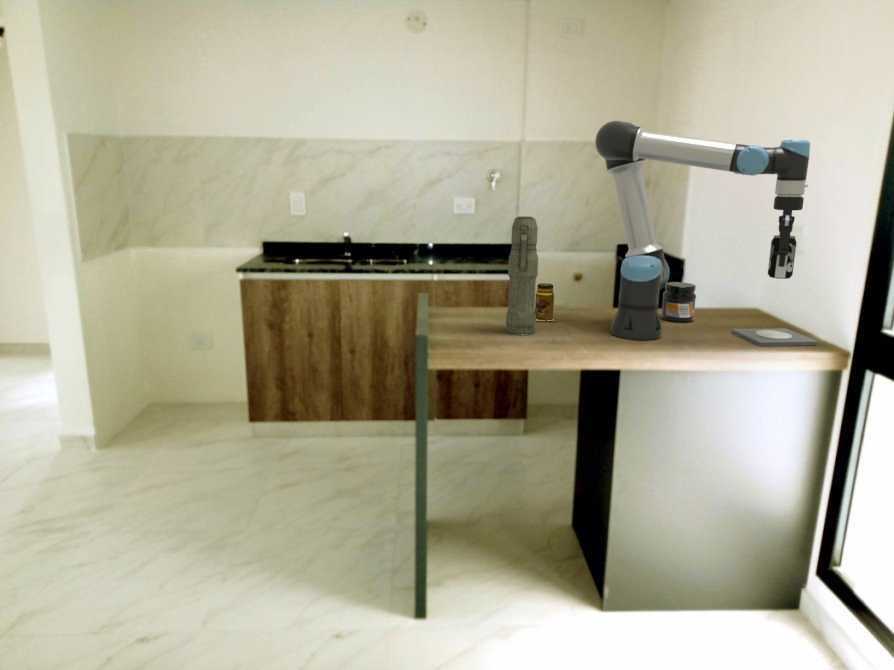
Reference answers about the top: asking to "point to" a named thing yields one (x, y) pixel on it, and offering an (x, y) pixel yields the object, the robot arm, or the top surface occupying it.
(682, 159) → the robot arm
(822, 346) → the top surface
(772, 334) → the plate
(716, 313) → the top surface
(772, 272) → the beverage can
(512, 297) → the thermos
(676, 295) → the supplement container
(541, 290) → the condiment
